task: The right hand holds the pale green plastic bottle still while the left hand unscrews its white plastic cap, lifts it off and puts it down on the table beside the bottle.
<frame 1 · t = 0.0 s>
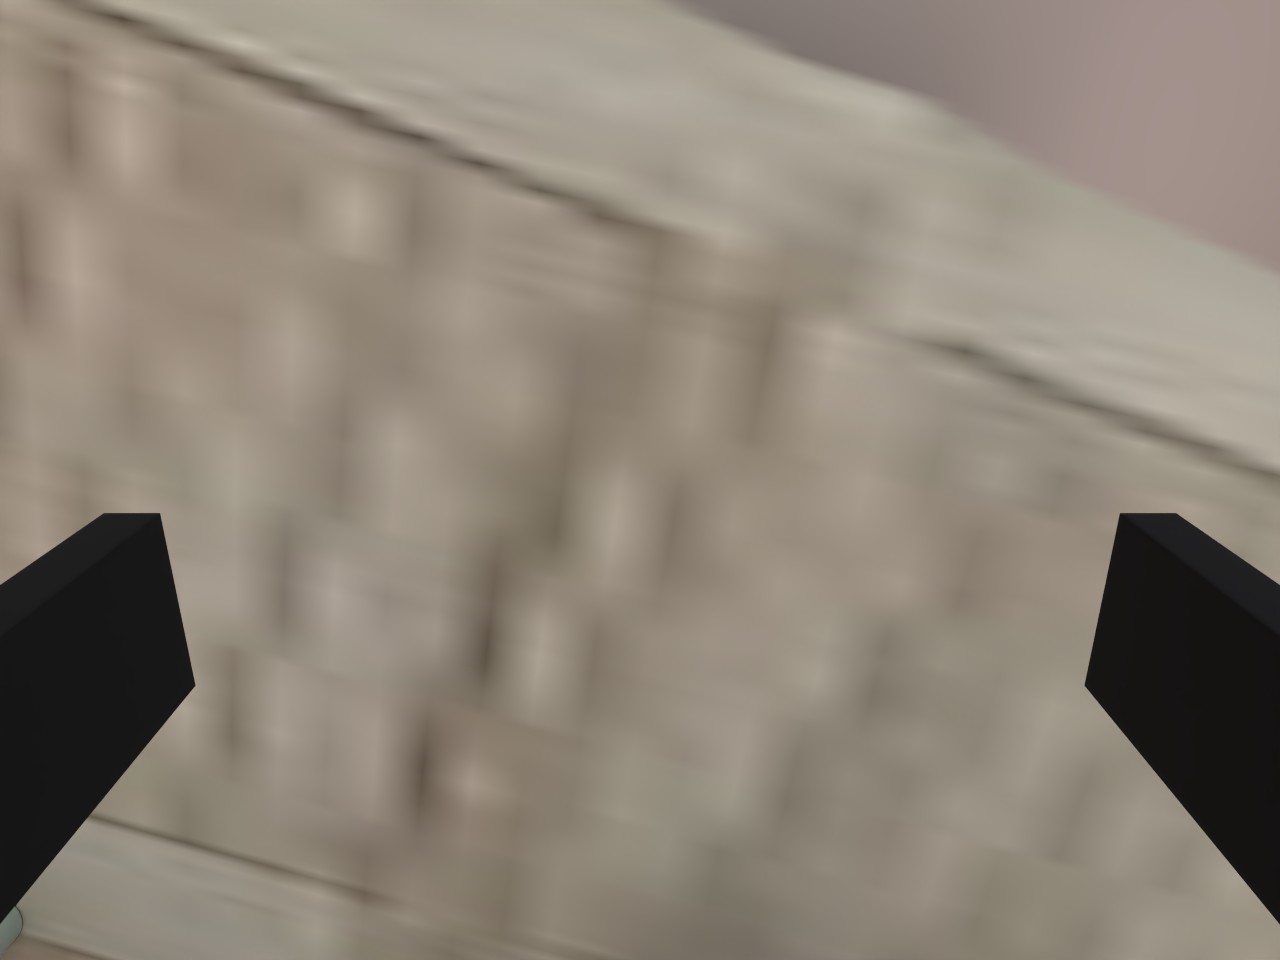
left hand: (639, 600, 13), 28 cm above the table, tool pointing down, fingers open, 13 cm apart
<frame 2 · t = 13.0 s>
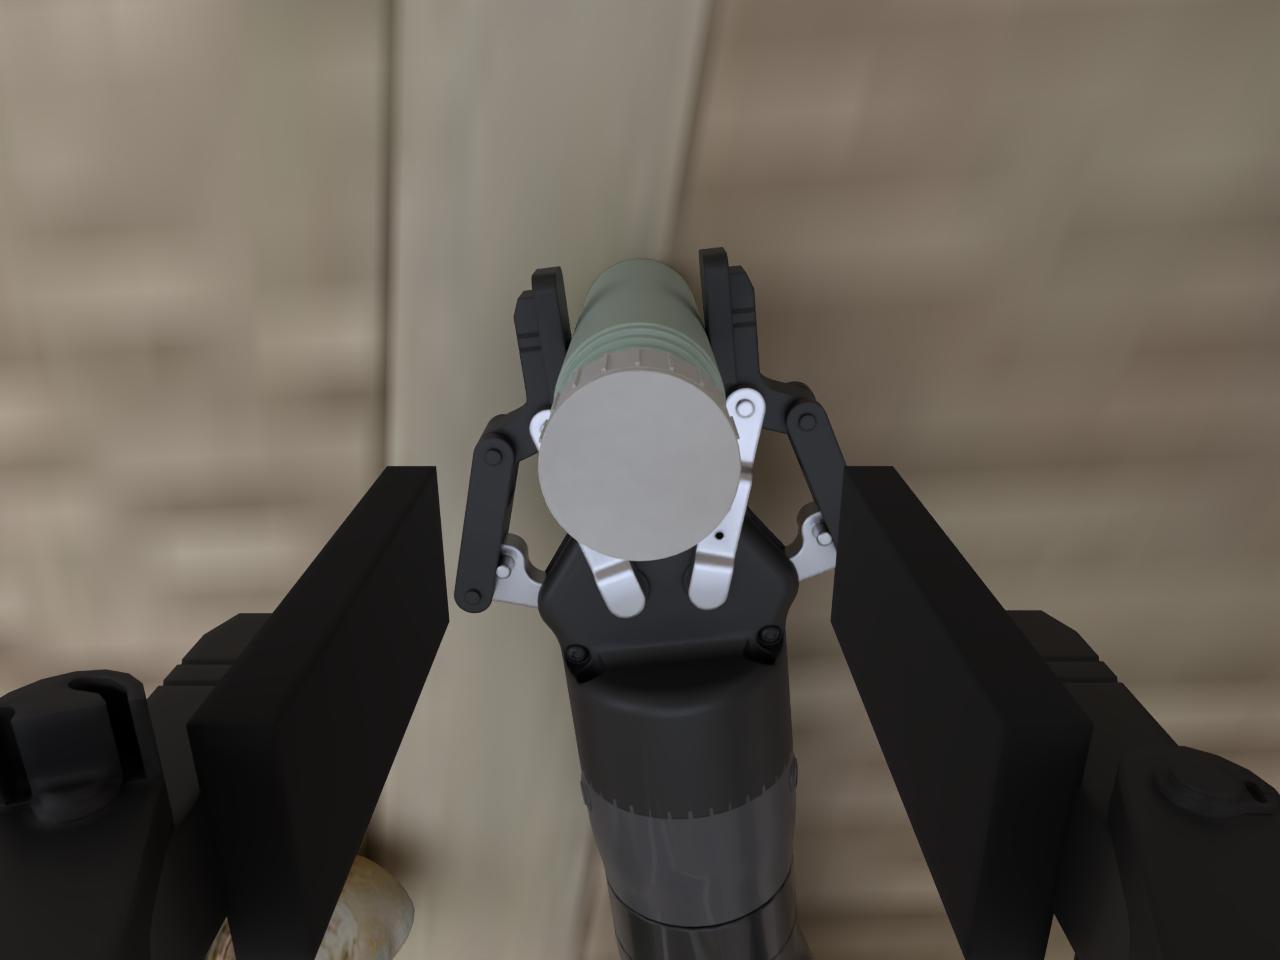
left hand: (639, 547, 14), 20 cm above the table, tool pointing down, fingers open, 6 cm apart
right hand: (630, 263, 26), fingers closed on bottle, 4 cm apart
bottle: (640, 316, 33), on the table, touching right hand
cap: (639, 464, 18), point 16 cm above the table, screwed on, not yet turned
seashell: (327, 860, 42), on the table
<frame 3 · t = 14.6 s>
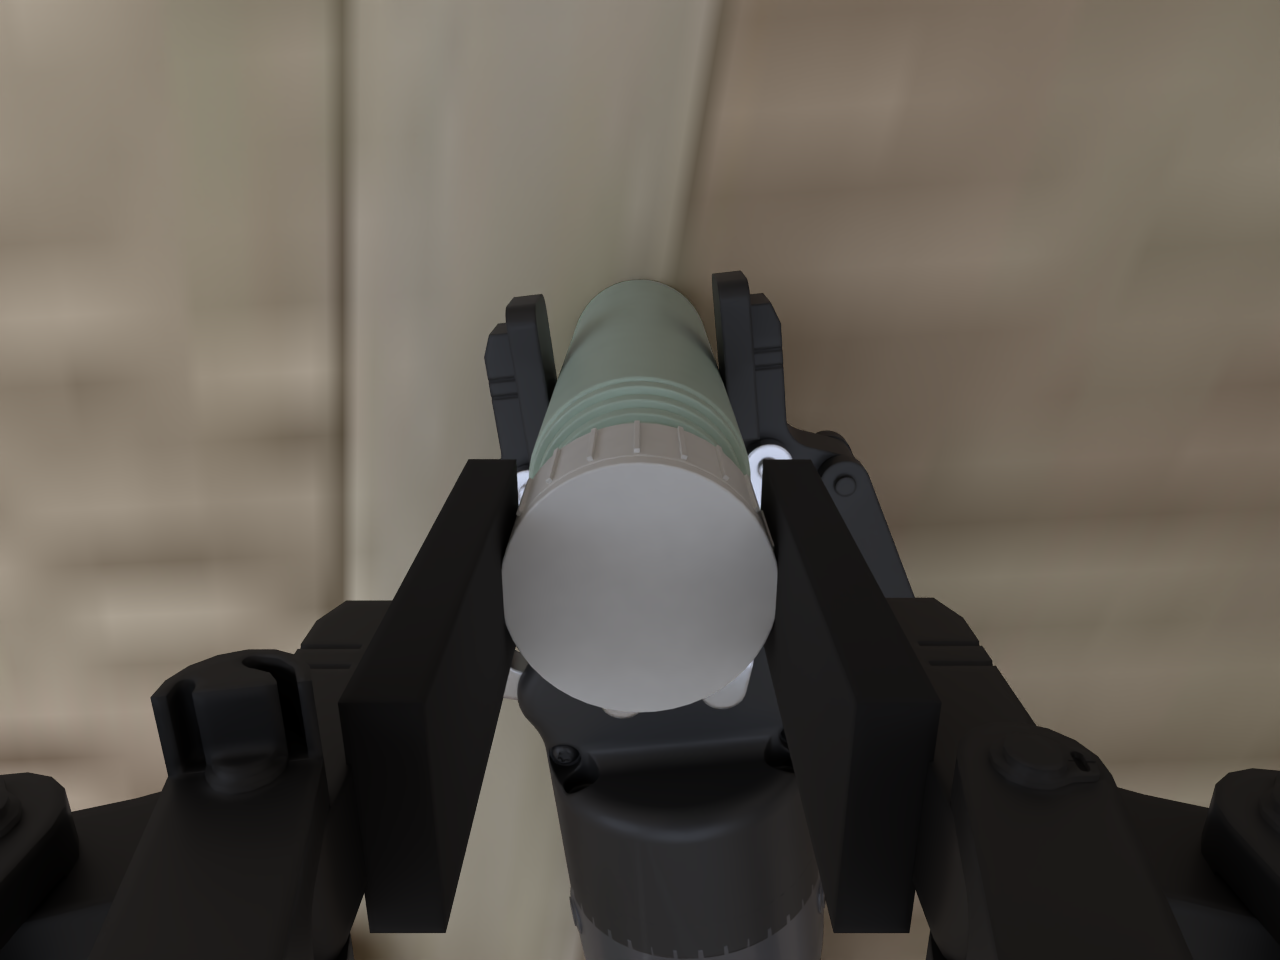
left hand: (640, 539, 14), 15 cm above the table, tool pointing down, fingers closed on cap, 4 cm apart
bottle: (640, 346, 28), on the table, touching right hand
cap: (639, 585, 13), point 16 cm above the table, screwed on, not yet turned, touching left hand
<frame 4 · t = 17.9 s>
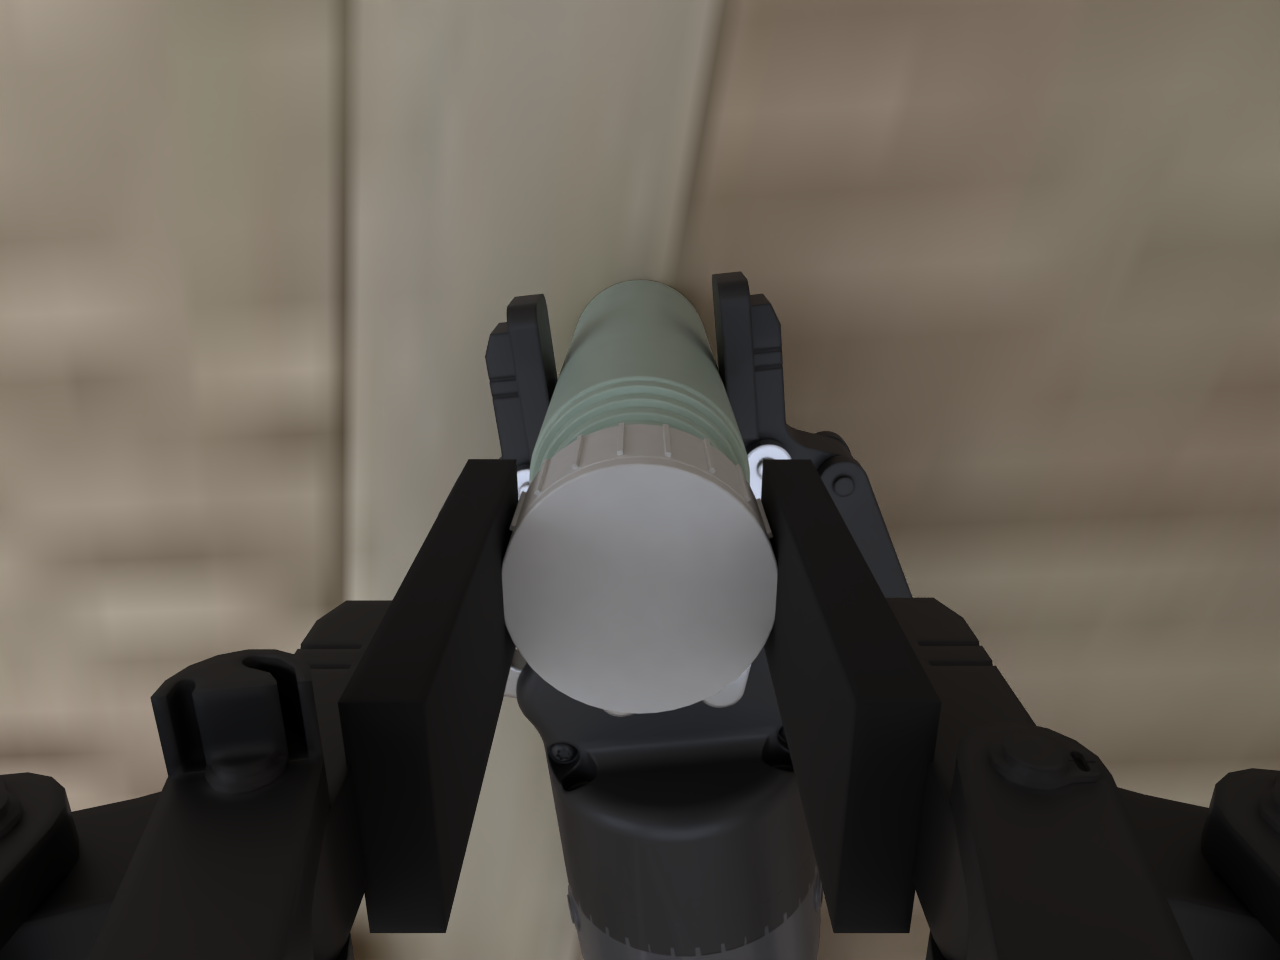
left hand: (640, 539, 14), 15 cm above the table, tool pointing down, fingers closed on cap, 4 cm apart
bottle: (639, 346, 28), on the table, touching right hand
cap: (639, 586, 13), point 16 cm above the table, turned 121° so far, risen 0.1 cm, still on its thread, touching left hand
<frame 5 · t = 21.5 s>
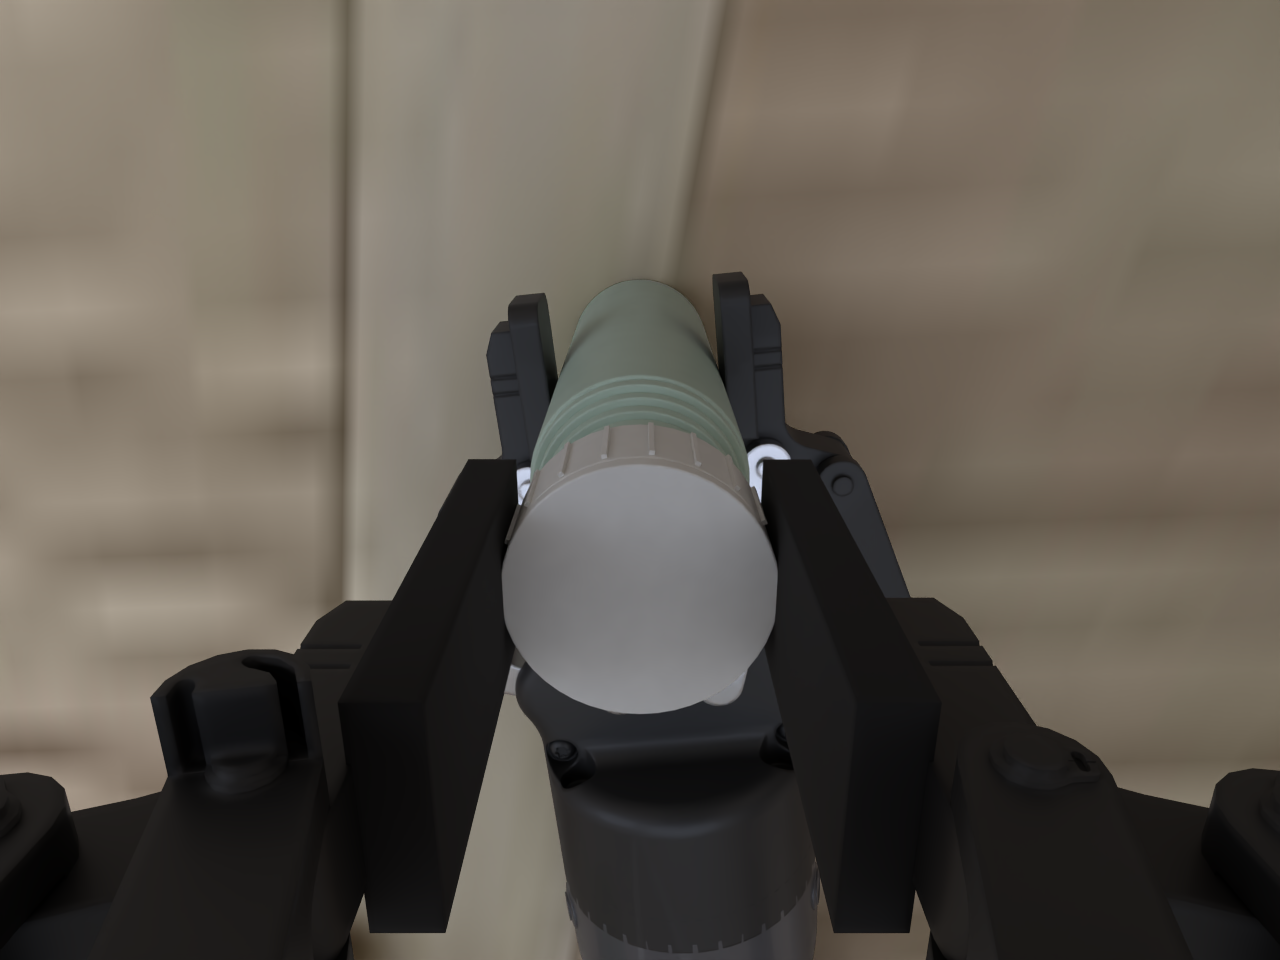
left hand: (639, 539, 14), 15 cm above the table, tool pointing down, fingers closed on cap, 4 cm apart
bottle: (640, 345, 28), on the table, touching right hand
cap: (639, 586, 13), point 16 cm above the table, turned 241° so far, risen 0.2 cm, still on its thread, touching left hand
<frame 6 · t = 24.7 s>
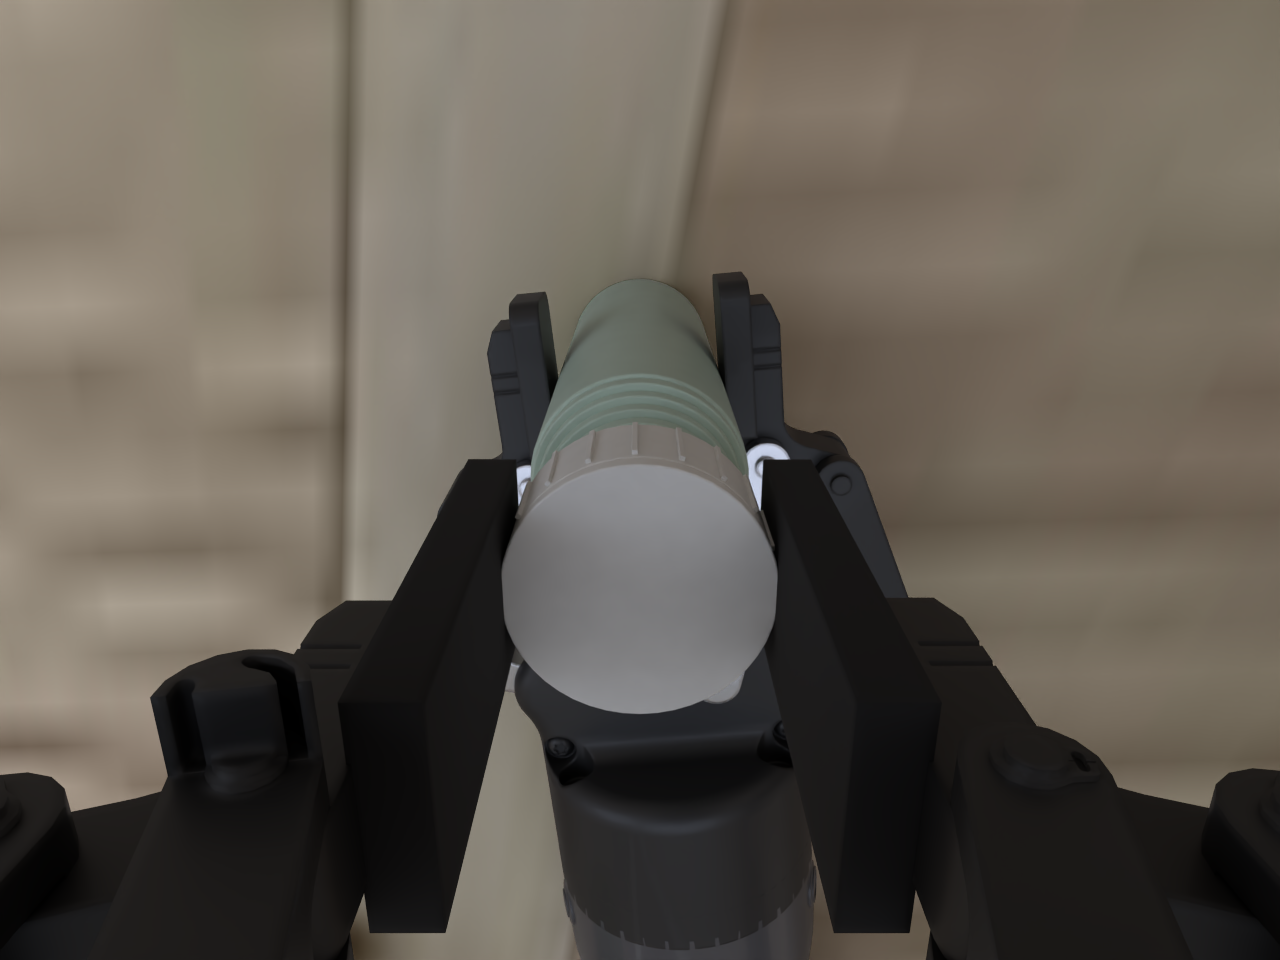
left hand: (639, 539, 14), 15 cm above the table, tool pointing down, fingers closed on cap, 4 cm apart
bottle: (639, 345, 28), on the table, touching right hand
cap: (639, 586, 13), point 17 cm above the table, turned 362° so far, risen 0.3 cm, still on its thread, touching left hand
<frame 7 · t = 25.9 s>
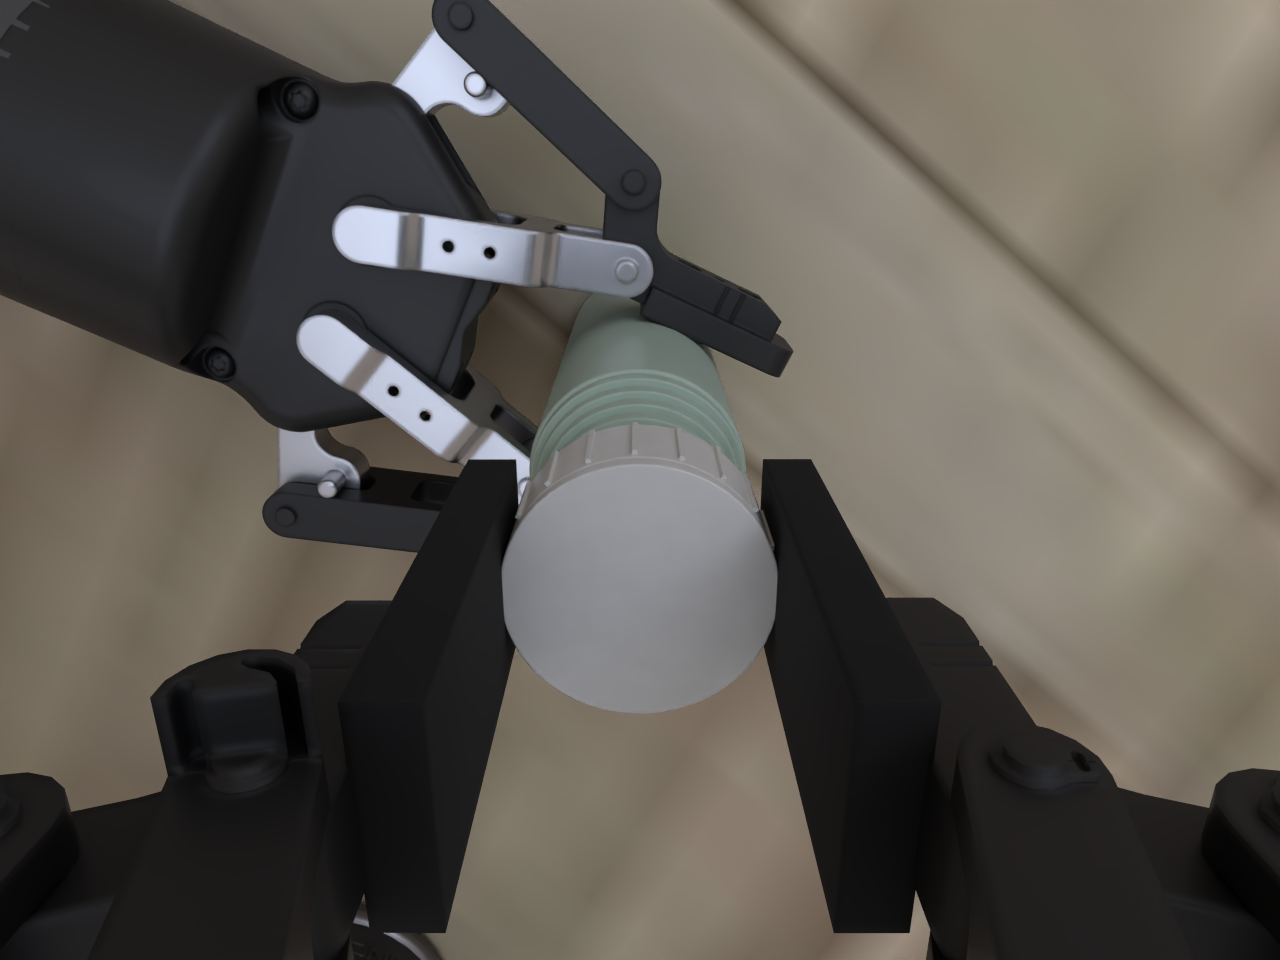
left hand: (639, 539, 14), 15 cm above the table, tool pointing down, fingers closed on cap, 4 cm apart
right hand: (734, 441, 23), fingers closed on bottle, 4 cm apart
bottle: (637, 341, 29), on the table, touching right hand
cap: (639, 586, 13), point 17 cm above the table, off its thread, touching left hand
when the left hand's fingers open (2 cm above the table, at t = 31.8 s): cap drops 2 cm, point 2 cm above the table.
when the right hand's fingers open (7 cm above the table, at t = 33.1 s): bottle stays where it is, on the table.
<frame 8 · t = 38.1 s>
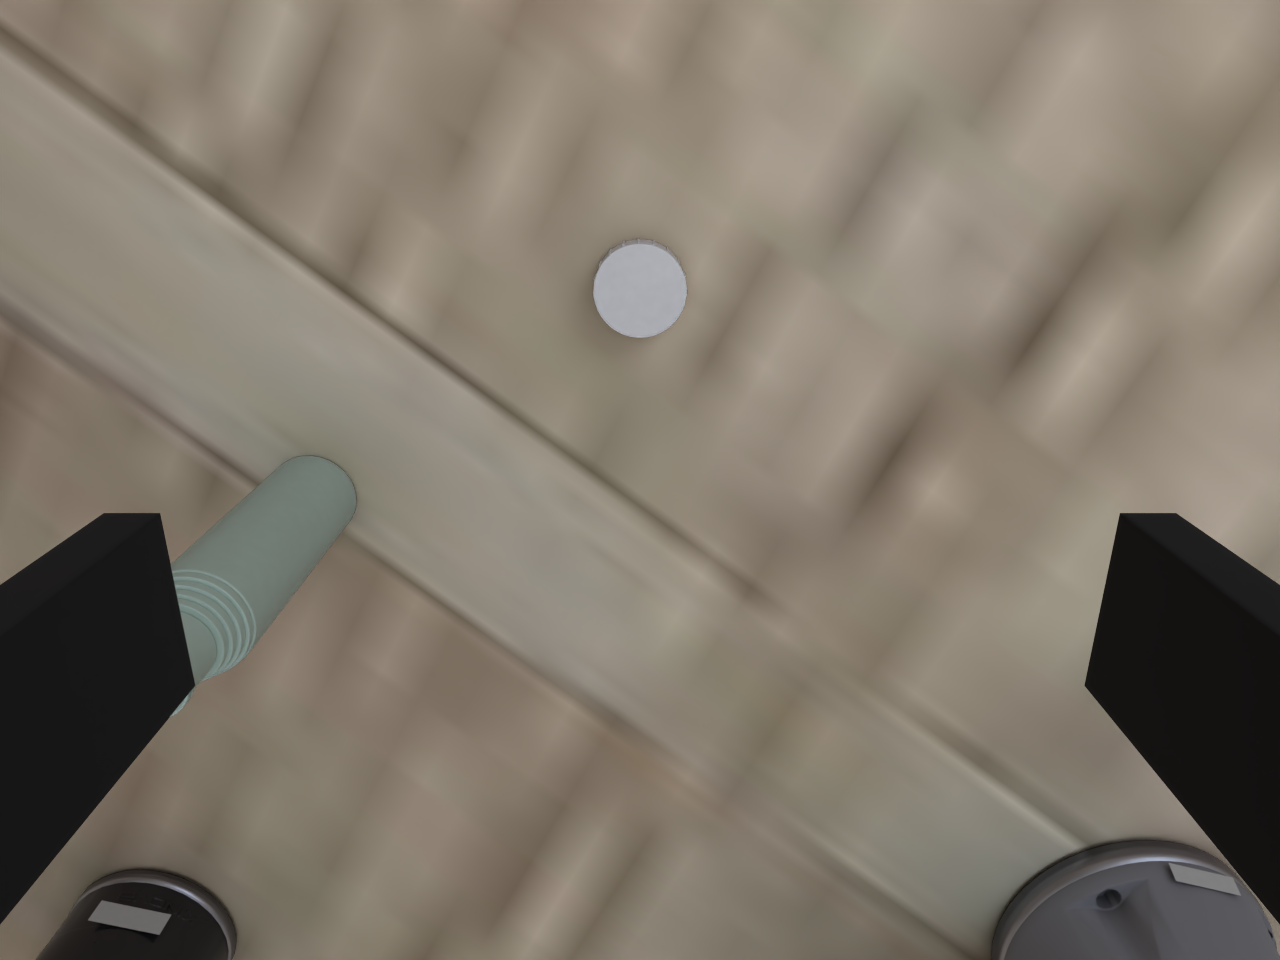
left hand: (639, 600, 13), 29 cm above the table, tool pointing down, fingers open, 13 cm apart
bottle: (313, 495, 43), on the table
cap: (640, 290, 38), point 2 cm above the table, off its thread
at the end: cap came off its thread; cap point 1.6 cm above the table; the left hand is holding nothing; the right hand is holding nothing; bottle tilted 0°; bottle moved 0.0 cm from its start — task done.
